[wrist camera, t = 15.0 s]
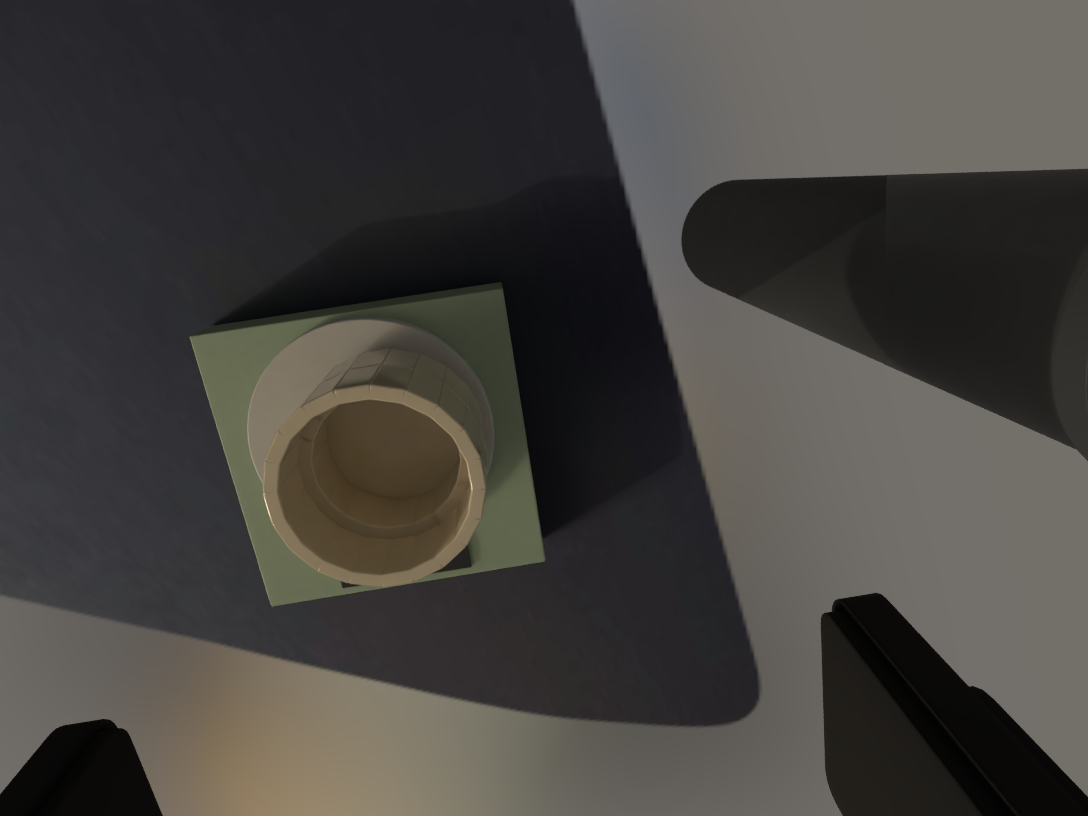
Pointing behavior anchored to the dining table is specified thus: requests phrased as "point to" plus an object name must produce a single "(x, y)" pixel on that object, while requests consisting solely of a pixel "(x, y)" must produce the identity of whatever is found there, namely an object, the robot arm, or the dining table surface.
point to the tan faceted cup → (380, 470)
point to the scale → (333, 337)
